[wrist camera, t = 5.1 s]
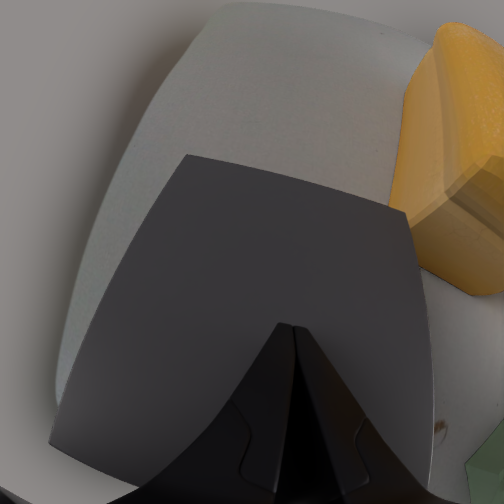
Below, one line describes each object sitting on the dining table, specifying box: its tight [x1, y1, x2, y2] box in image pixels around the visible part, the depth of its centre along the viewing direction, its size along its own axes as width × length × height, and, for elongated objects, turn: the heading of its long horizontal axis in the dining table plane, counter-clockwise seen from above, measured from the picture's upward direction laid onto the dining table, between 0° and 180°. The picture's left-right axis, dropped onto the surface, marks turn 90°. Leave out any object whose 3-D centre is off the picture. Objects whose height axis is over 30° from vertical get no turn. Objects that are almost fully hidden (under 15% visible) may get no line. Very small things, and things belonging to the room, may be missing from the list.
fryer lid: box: [49, 154, 434, 490], centre depth 9 cm, size 13×12×1 cm
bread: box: [388, 22, 504, 296], centre depth 17 cm, size 24×13×15 cm, turn 156°
